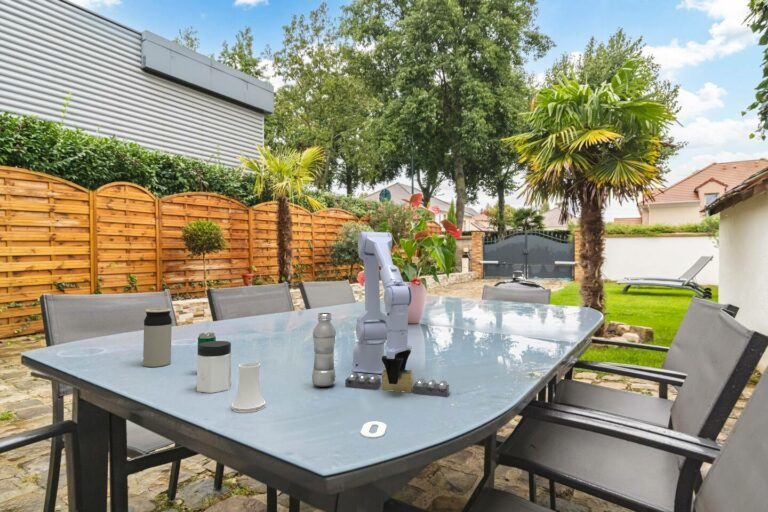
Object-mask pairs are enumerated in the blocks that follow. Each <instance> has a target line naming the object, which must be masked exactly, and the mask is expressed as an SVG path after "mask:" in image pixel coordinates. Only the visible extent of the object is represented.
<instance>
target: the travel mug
mask: <svg viewBox="0 0 768 512" xmlns="http://www.w3.org/2000/svg"><path fill="white" fill-rule="evenodd" d="M171 311H172V309H171V308H163V307H162V308H161V307H160V308H147V309H145V311H144V312H145V314H146V316H145V318H144V319H143V350H142V351H143V352H142V353H143V355H142V357H143V358H142V365H143V366H144V367H146V368H160V367H165V366H168V365H170V364H171V363H172V362H171V361H172V358H171V357H172V324H173V323H172V320H173V319H172V317H171V315H170V314H171V313H170V312H171Z"/></svg>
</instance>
